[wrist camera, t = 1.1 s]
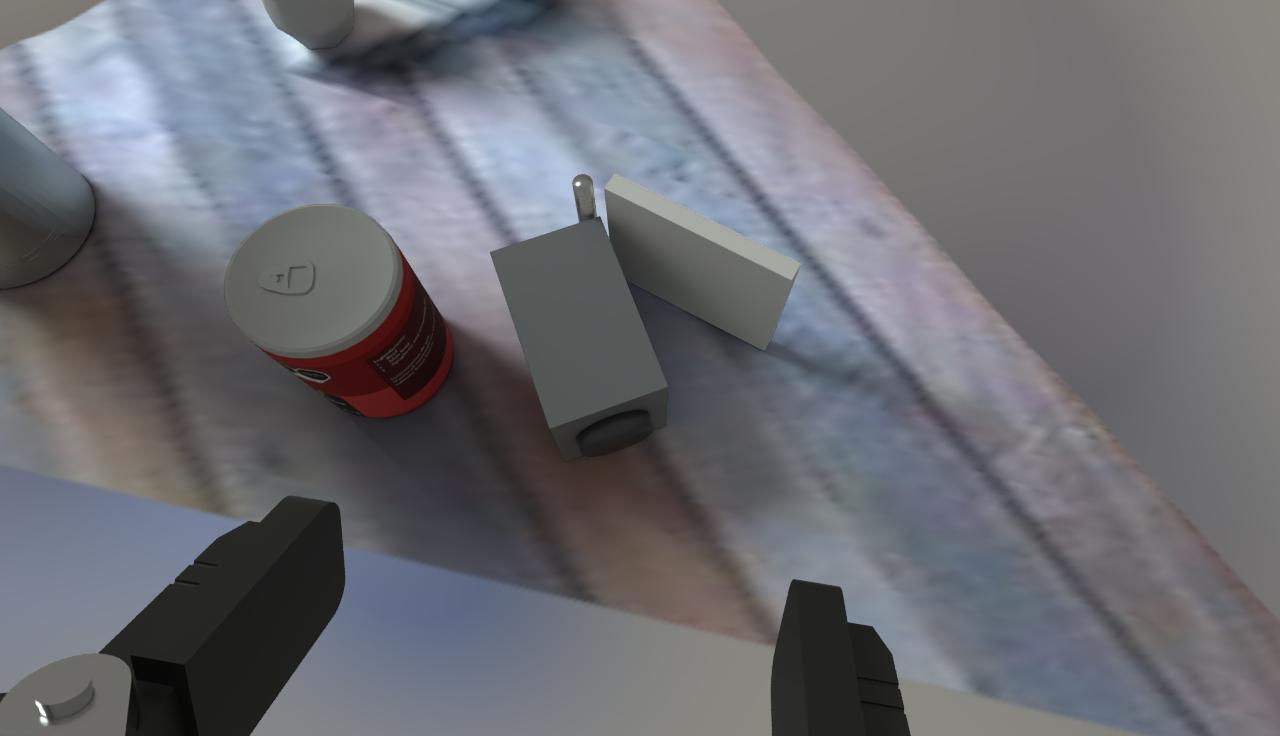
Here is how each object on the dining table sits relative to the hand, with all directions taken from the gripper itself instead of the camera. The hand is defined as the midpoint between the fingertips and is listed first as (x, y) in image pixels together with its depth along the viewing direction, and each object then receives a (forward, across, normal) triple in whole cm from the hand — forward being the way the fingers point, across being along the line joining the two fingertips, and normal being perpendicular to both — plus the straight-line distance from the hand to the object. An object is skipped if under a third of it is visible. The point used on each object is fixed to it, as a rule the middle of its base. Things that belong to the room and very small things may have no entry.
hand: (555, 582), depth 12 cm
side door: (+34, -1, +7) cm, 34 cm away
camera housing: (+30, +5, +10) cm, 33 cm away
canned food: (+29, +16, +12) cm, 36 cm away
